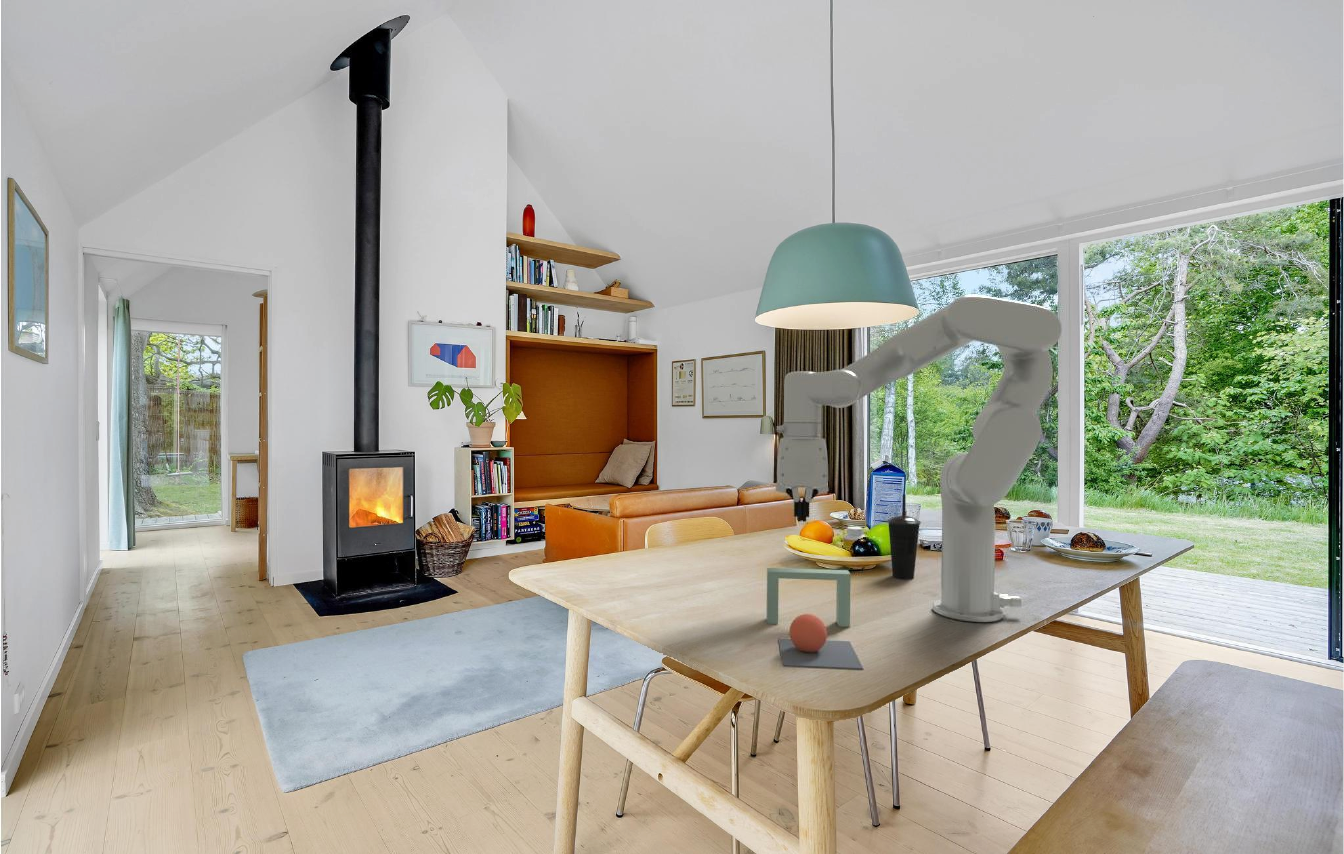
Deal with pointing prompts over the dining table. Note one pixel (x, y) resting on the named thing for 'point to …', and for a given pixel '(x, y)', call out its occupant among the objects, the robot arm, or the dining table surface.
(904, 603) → the dining table surface
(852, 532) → the supplement bottle
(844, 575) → the bridge
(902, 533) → the drinking cup
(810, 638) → the ball
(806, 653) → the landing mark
